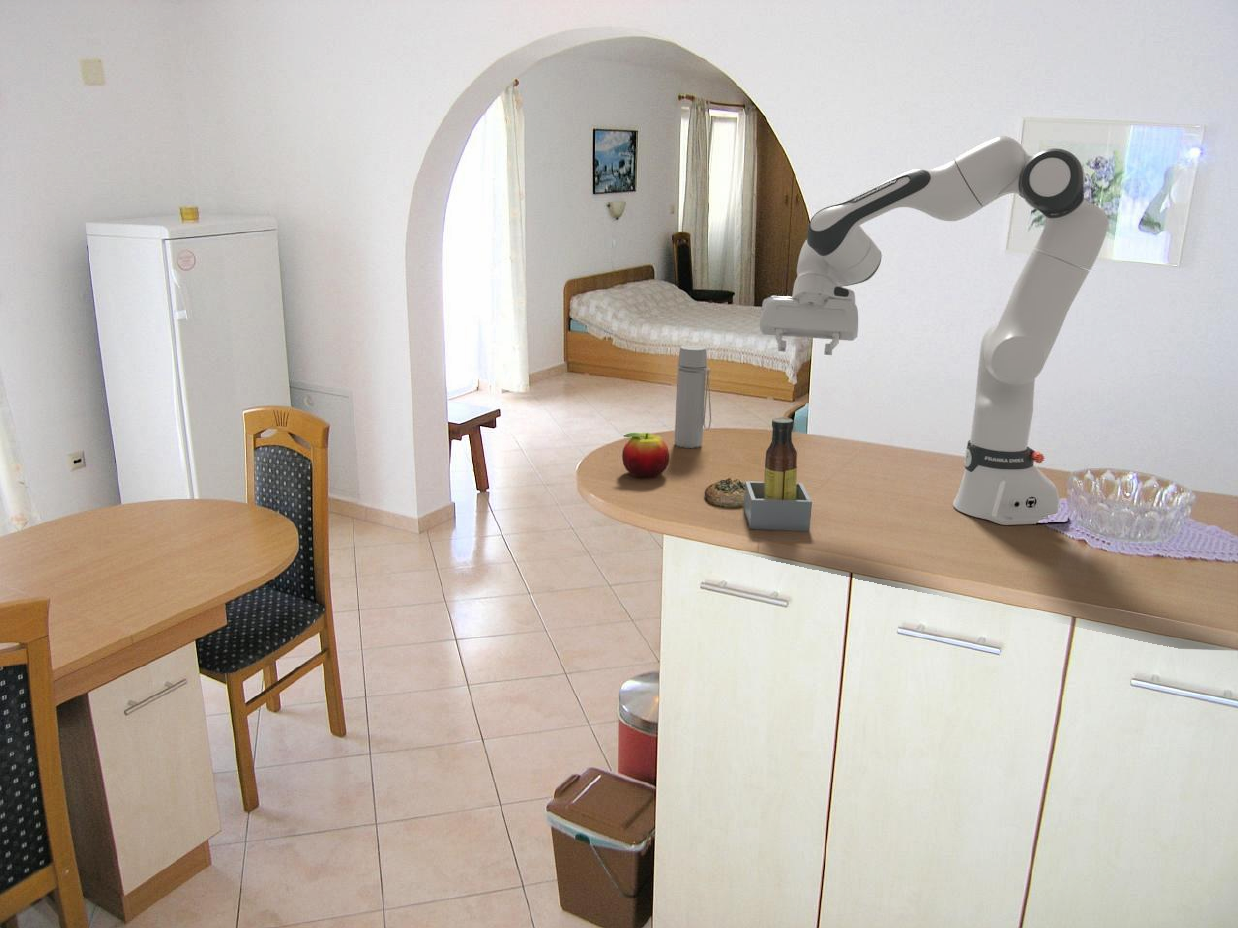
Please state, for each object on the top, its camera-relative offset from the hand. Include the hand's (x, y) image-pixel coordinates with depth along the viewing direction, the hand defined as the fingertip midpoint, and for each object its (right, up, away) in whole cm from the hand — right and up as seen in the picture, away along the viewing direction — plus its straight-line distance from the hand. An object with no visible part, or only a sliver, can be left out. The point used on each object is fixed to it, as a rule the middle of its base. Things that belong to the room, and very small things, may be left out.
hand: (804, 351), depth 196 cm
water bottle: (-20, -19, +44) cm, 52 cm away
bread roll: (-15, -31, +6) cm, 35 cm away
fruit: (-32, -26, +21) cm, 46 cm away
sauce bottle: (-7, -34, -6) cm, 35 cm away
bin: (-7, -34, -5) cm, 35 cm away
